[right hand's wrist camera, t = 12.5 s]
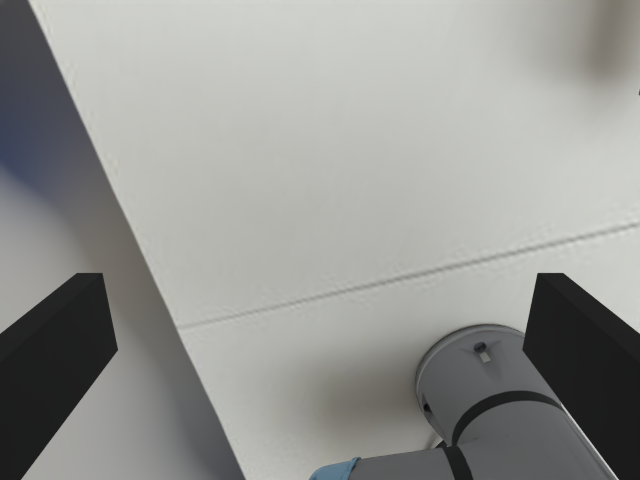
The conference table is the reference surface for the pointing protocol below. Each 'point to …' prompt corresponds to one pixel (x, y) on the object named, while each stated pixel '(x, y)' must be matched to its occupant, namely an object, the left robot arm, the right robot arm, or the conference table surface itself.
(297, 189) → the conference table surface
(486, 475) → the right robot arm
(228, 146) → the conference table surface
